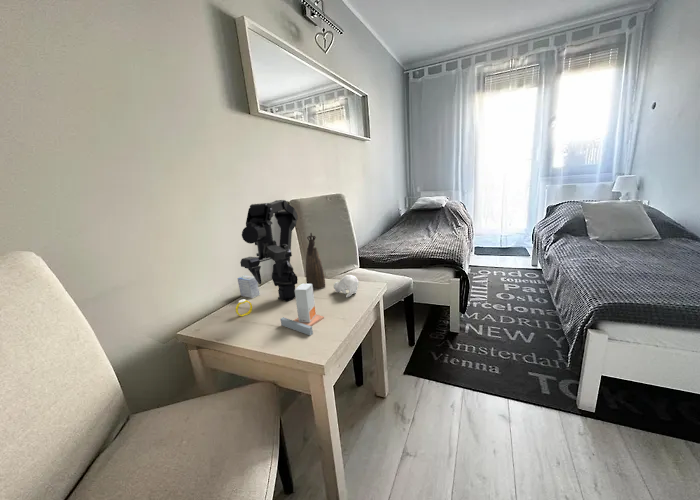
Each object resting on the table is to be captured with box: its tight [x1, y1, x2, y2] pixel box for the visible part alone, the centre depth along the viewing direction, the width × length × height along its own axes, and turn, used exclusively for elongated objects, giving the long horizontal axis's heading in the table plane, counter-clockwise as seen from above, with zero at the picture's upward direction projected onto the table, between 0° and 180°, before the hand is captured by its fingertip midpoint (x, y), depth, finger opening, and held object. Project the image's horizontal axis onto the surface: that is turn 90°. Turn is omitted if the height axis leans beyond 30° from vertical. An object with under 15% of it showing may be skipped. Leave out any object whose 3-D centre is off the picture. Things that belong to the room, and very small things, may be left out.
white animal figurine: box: [333, 274, 360, 298], centre depth 121 cm, size 6×8×12 cm
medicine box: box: [237, 274, 261, 299], centre depth 130 cm, size 8×4×9 cm, turn 58°
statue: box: [305, 232, 326, 290], centre depth 131 cm, size 9×8×25 cm
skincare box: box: [295, 283, 317, 323], centre depth 100 cm, size 6×4×12 cm
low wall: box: [280, 316, 314, 336], centre depth 96 cm, size 1×14×2 cm, turn 52°
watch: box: [235, 298, 253, 317], centre depth 111 cm, size 6×3×6 cm, turn 133°
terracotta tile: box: [292, 313, 325, 327], centre depth 101 cm, size 8×8×1 cm
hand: (270, 280), depth 108 cm, fingers open, 9 cm apart
